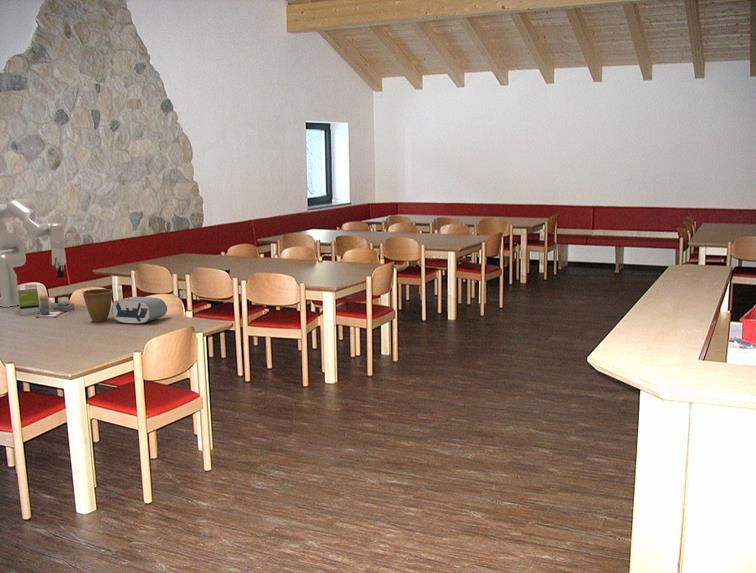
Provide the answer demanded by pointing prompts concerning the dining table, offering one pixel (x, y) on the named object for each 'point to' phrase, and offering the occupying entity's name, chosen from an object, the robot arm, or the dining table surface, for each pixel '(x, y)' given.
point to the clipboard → (52, 313)
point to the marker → (44, 304)
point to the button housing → (64, 307)
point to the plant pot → (98, 303)
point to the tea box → (28, 299)
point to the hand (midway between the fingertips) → (61, 277)
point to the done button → (62, 301)
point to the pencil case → (138, 309)
